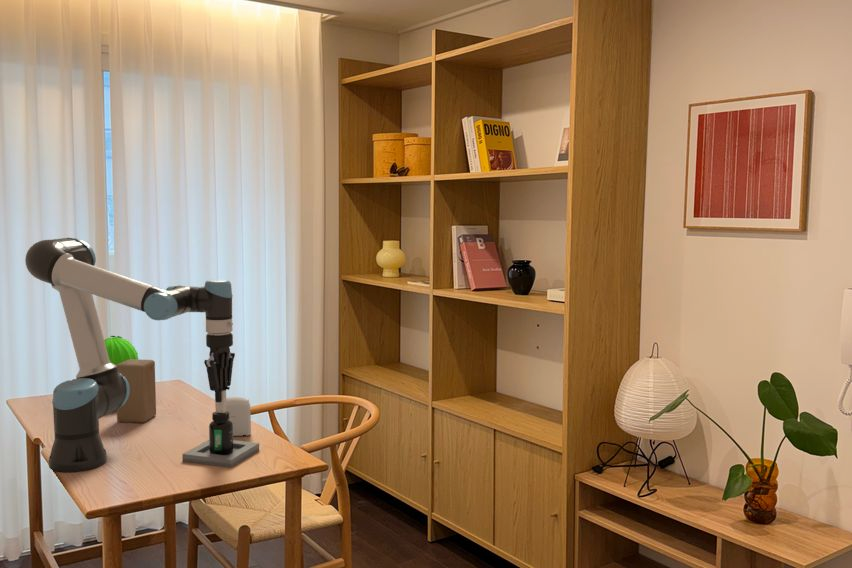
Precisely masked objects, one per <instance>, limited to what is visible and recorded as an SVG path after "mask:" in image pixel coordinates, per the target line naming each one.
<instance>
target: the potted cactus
mask: <svg viewBox="0 0 852 568" xmlns="http://www.w3.org/2000/svg"><path fill="white" fill-rule="evenodd" d="M104 341H105V345H106V349H107V353H108V357H109V360H110V362H111V363H113V364H115V365H117V364H119V363H122V362H124V361H126V360H129V359H139V355H138V350H136V347H135V345H134V346H133V343H131V342H130V340H128V339H125V338H123V337H122V336H119V335H117V336H115V335H111V336H109V337H107V338H104Z"/></svg>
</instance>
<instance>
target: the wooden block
mask: <svg viewBox="0 0 852 568" xmlns="http://www.w3.org/2000/svg"><path fill="white" fill-rule="evenodd" d="M155 363H156V362H155V360H153V359H139V358H138V359H129V360H126V361H124V362H122V363H119V364H117V365H116V366H117V369H118V373H120V374H122V376H124V377H125V378H126V379H127V381H128V383H129V387H130V393H129V397H128V400H127V401H126V403H125V404H124V405H123V406H122V407H120V408H119V409H118V410H116V421H117V422H119V423H134V422H136V423H138V424H141V423H142V424H143V423H146V422H147V421H149V420H151V419H152V418H154V417H155V416H156V414H157V399H156V398H157V393H156V391H157V390H156V364H155Z"/></svg>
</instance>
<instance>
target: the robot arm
mask: <svg viewBox="0 0 852 568" xmlns="http://www.w3.org/2000/svg"><path fill="white" fill-rule="evenodd" d="M96 258H97V257H96V253H95V251H94V249H93V248H92V246H91V245H90V244H89V243H88V242H86V241H85V240H83V239H80V238H75V237H74V238H73V237H62V238H54V239H43V240H39V241H38V242H36V243H33V245H31V246H30V247H29V248H28V250H27V251H26V254H25V260H24V261H25V266H26V269H27V270H28V273H30V275H31V276H33V278H35V279H38V280H39V281H41V282H45V283H47V284H49V285H51V288H52V289H54V290H55V291H57V292H58V293H59V296H60V301H61V304H62V308H63V311H64V315H65V320H66V323H67V326H68V327H67V328H68V330H69V334H70V338H71V341H72V346H73V349H74V353H75V357H76V361H77V364H78V368H79V371H78V372H77V373H76V375H75V377H76V378H73V379H71V380H66V381H63V382H61V383H59V384H58V385H56V386H55V388H54V389H53V393H52V402H51V403H52V407H53V408H52V409H53V411H52V412H53V425H54V426H53V429H54V431H53V432H54V441H53V444H52V446H51V447H52V448H51V451H50V455H49V457H48V467H49V469H50V470H52V471H55V472H61V473H62V472H63V473H66V472H67V473H74V472H80V471H81V472H82V471H87V470H92V469H95V468H97V467H101V466H103V465H104V464H105V463H106V462H107V461H108V459H107V450H106V448H105V447H104V444H103V441H102V438H101V435H100V419H101V418H103V417H105V416H107V415H109V414H111V413H112V414H113V413H115V412H117V410H118V409H119V408H120V407H122V406H123V405H124V404H125V403H126V401H127V400H128V397H129V393H130V387H129V383H128V381H127V379H126V378H125V377H124V376H122V374H120V373H118V369H117V366H116V365H115V364H113V363H111V362H110V360H109V357H108V353H107V349H106V345H105V341H104V340H105V338H104V335H103V334H104V333H103V330H102V327H101V323H100V319H99V316H98V312H97V308H96V304H95V300H94V297H93V295H94V296H97V297H99V298H103V299H105V300H108V301H112V302H115V303H117V304H120V305H123V306H125V307H129V308H132V309H134V310H137V311H141V312H143V313H145V314H146V315H147V316H148V317H149V319H151V320H154V321H166V320H169V319H172V318H174V317H177V316H179V315H183V314H186V313H205V332H206V333H207V334H206V335H205V342H206V343H205V344H206V345H205V346H206V347H207V348H209V357H208V359H204V362H203V363H204V365H205V367H206V373H207V379H208V384H209V385H208V386H209V390H210V391H212V392H214V402H215V403H214V404H215V406H214V407H215V412H218V413H225V412H226V398H227V390H230V386H231V385H232V375H233V367H234V360H235V357H236V353H235V352H231V348H230V347H232V346H233V343H234V341H233V339H234V337H233V336H234V335H233V333H232V332H233V325H234V323H233V290H232V289H233V288H232V283H231V281H230V280H227V279H209V280H206V281H205V282H204V286H187V285H173V286H172V285H171V286H168V287H167V288H166V289H163V288H159V287H158V286H153V285H151V284H149V283H145V282H142V281H139V280H136V279H133V278H130V277H127V276H125V275H122V274H118V273H116V272H113V271H110V270H108V269H104V268H101V267H99V266H96V261H97V259H96Z"/></svg>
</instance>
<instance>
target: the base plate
mask: <svg viewBox="0 0 852 568" xmlns="http://www.w3.org/2000/svg"><path fill="white" fill-rule="evenodd" d="M259 451H260V443H259V442H253V441H243V440H236V439H233V452H232V453H230V454H228V455H217V454H211V453H210V448H209V439H208V440H206V441H204V442H203V443H201V444H199V445H197V446H194V447H193V448H191V449H189V450H187V451H185V452H183V453H182V457H181V458H182V462H186V463H193V464H202V465H210V466H218V467H225V468H233V467H234V466H236V465H238V464H239V463H241V462H242V461H244V460H245V459H247V458H249V457H251V456H252V455H254V454H255V453H257V452H259Z"/></svg>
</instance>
